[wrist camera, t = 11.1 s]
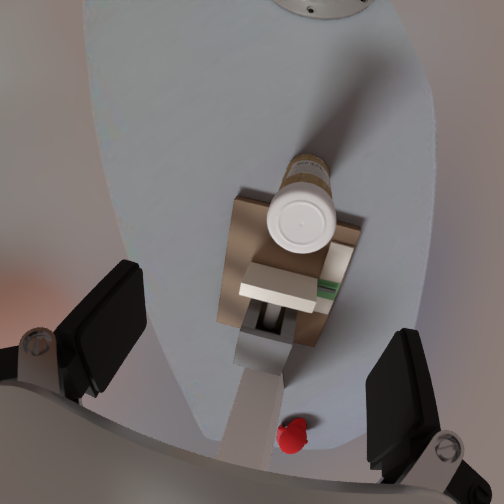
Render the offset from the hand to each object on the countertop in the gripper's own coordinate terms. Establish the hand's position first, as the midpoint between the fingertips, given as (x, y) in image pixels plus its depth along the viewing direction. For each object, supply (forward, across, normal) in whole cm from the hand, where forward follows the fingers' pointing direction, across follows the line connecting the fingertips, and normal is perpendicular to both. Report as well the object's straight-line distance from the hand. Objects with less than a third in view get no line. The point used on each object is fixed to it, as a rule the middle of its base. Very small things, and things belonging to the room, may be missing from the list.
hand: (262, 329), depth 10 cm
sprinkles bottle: (+24, -1, 0) cm, 24 cm away
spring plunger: (+22, -2, +15) cm, 26 cm away
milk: (+23, -2, +34) cm, 41 cm away
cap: (+23, -11, +48) cm, 54 cm away
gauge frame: (+23, 0, +14) cm, 27 cm away
